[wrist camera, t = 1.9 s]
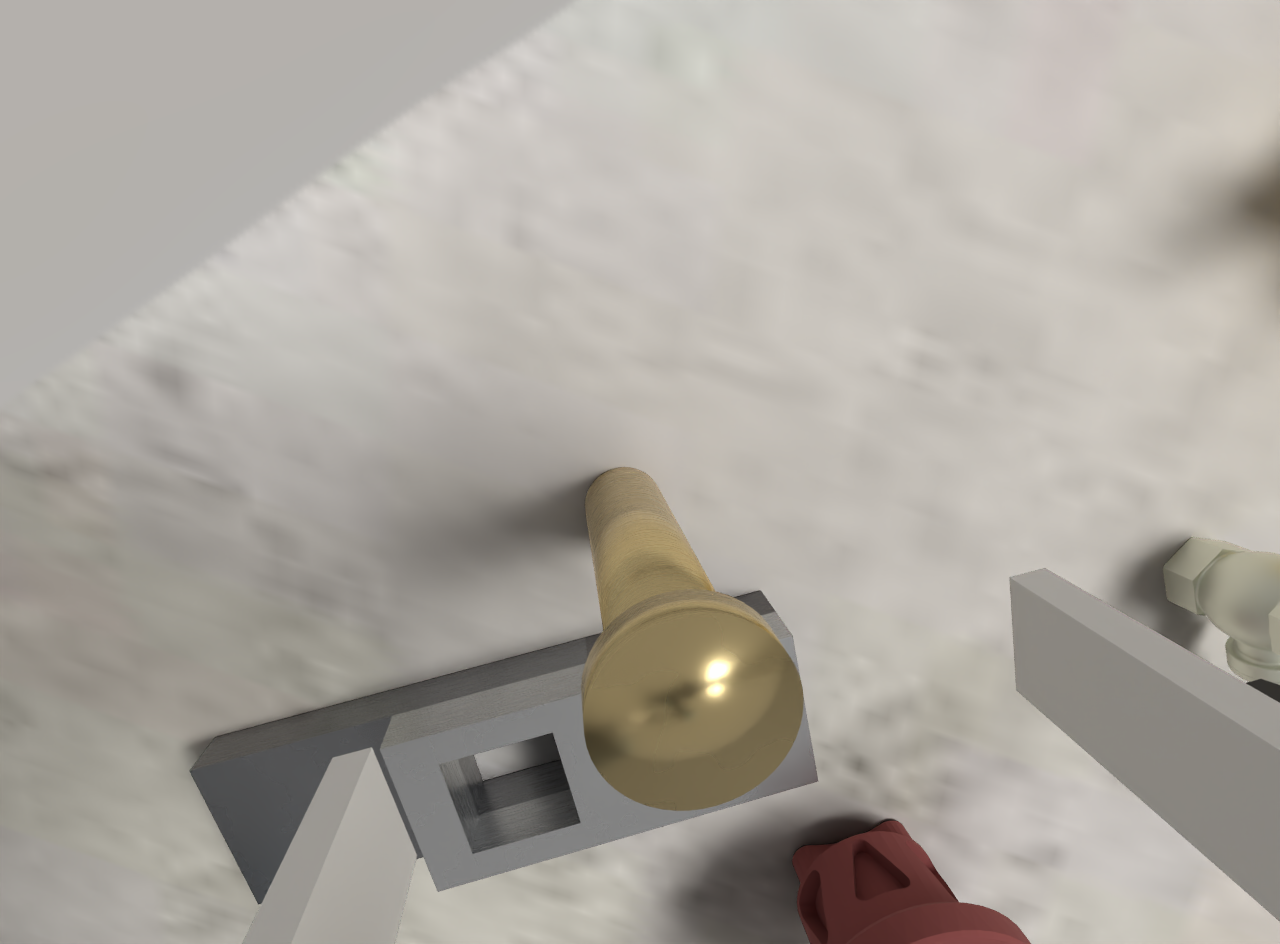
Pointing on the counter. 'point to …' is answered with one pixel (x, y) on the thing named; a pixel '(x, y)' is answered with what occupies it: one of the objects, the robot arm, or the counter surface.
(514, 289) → the counter surface
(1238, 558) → the valve
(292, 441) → the counter surface
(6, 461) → the counter surface
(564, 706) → the plate with square socket
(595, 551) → the brass knob
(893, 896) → the mechanical component
